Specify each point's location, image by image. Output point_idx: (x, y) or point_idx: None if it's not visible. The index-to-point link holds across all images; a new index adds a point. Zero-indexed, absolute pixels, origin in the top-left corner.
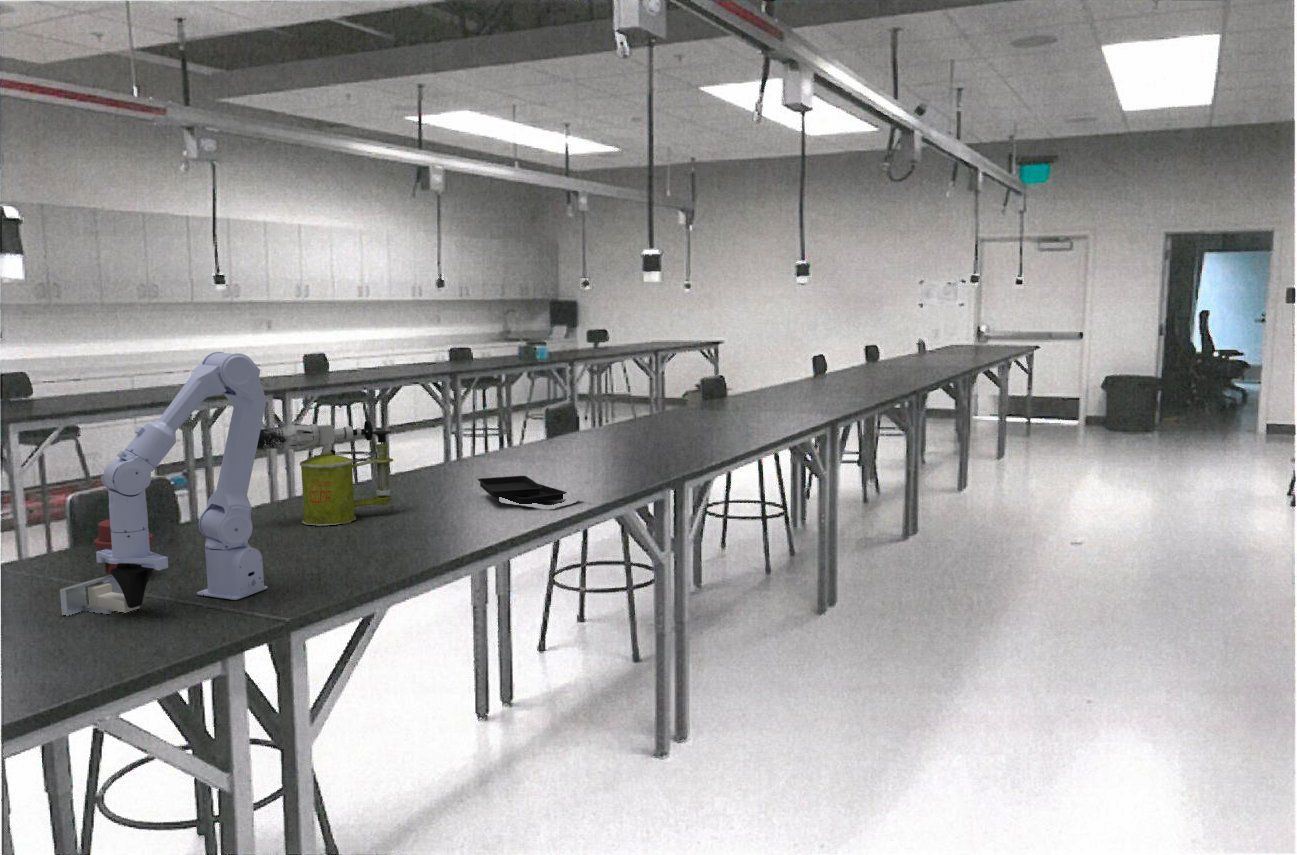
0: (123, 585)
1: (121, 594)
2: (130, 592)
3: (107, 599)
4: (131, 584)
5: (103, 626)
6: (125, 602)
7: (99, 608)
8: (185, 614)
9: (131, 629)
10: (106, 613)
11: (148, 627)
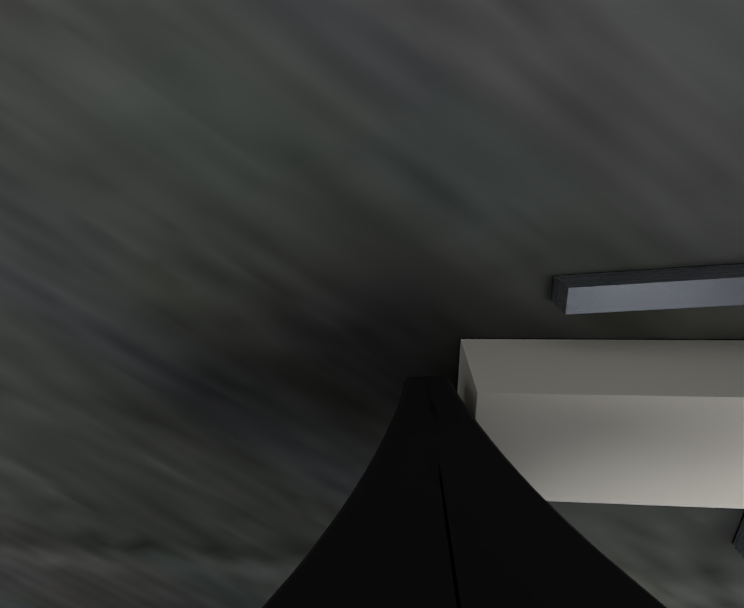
0: (466, 518)
1: (668, 496)
2: (375, 460)
3: (707, 388)
4: (311, 552)
5: (333, 62)
6: (474, 394)
7: (690, 290)
8: (137, 454)
9: (80, 127)
10: (581, 277)
11: (41, 216)
